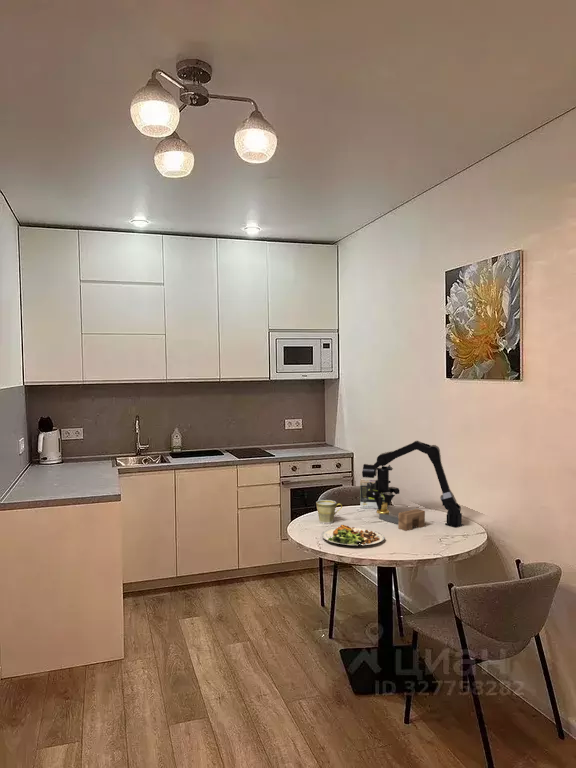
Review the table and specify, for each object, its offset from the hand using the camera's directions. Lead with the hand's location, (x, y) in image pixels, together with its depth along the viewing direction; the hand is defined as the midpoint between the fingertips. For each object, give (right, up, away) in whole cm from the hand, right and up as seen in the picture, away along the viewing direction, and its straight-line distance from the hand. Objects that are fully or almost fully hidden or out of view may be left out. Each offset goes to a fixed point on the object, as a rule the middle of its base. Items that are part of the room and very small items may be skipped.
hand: (382, 509), depth 289 cm
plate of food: (-19, -6, -34) cm, 40 cm away
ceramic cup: (-28, -5, -6) cm, 29 cm away
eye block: (+11, -6, -15) cm, 20 cm away
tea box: (-1, -5, +26) cm, 27 cm away
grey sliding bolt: (+4, -5, -5) cm, 8 cm away
